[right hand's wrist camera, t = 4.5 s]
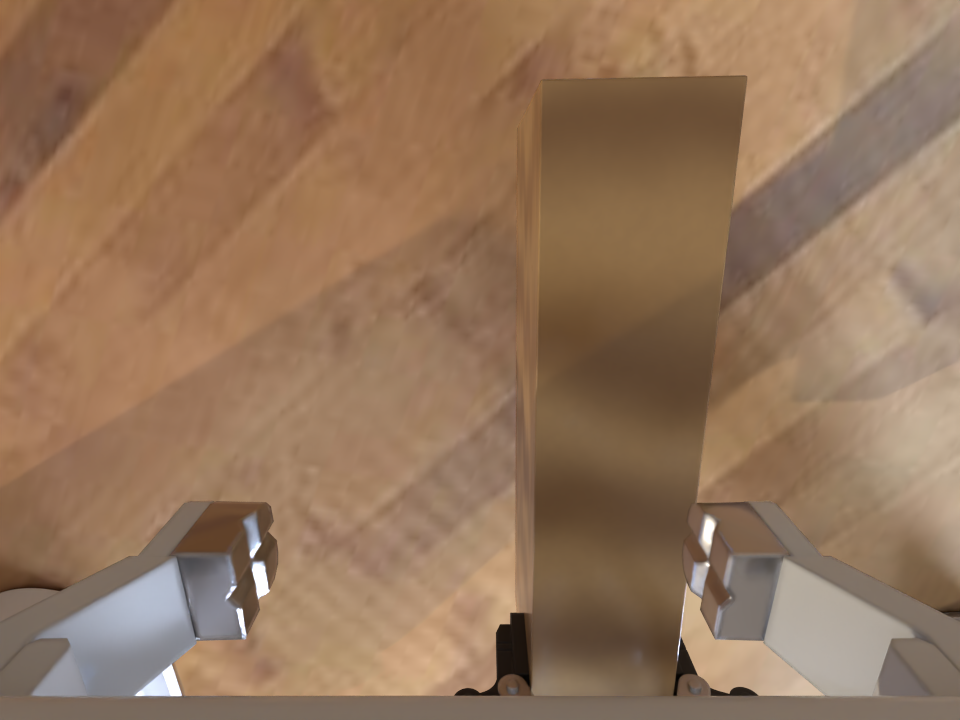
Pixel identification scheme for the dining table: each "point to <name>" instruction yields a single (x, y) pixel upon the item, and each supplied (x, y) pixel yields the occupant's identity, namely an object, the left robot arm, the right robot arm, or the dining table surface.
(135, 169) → the dining table surface
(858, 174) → the dining table surface
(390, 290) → the dining table surface
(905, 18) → the dining table surface
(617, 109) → the box
